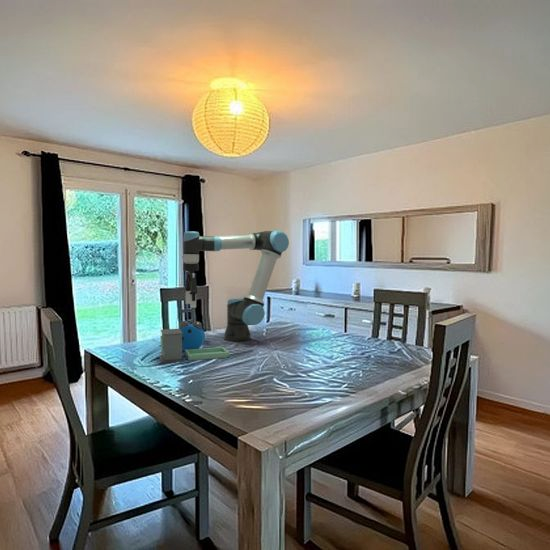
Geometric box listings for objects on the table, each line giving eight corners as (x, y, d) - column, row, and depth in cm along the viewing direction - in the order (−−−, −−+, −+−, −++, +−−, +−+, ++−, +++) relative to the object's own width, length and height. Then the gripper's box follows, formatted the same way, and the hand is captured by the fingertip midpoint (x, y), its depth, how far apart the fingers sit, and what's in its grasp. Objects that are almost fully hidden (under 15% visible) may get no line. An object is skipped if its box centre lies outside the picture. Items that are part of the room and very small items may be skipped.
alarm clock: (205, 349, 208) (205, 320, 207) (202, 352, 202) (202, 322, 201) (179, 349, 208) (179, 319, 207) (176, 352, 202) (176, 322, 201)
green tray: (223, 351, 205) (223, 347, 205) (229, 357, 194) (229, 352, 194) (184, 354, 198) (184, 349, 198) (188, 360, 188) (188, 355, 187)
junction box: (180, 354, 197) (180, 328, 197) (184, 361, 186) (184, 333, 185) (159, 356, 194) (159, 329, 193) (161, 363, 183) (161, 334, 182)
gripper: (179, 261, 212) (179, 302, 214) (187, 264, 189) (187, 309, 191) (194, 261, 215) (193, 302, 216) (203, 264, 192) (203, 309, 193)
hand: (190, 305), depth 204 cm, fingers open, 13 cm apart
